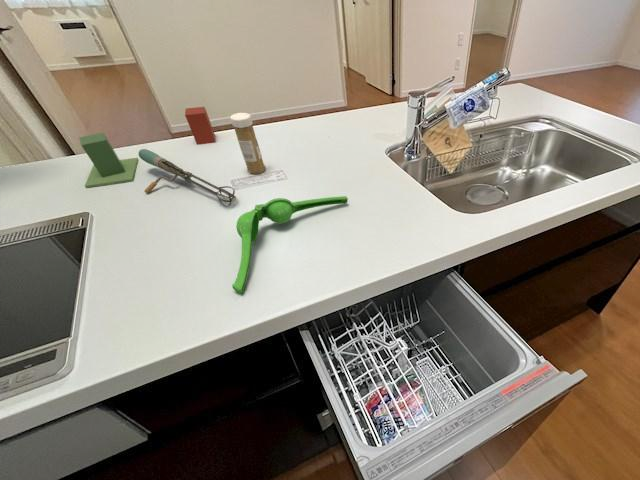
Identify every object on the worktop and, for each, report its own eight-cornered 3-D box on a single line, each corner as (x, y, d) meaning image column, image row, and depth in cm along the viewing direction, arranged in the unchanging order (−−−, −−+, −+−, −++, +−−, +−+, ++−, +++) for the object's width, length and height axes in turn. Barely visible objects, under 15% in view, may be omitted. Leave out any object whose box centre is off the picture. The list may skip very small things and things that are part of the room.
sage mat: (95, 165, 90) (94, 163, 90) (138, 159, 93) (137, 157, 92) (86, 188, 83) (84, 185, 82) (133, 181, 85) (131, 178, 85)
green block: (100, 169, 88) (78, 137, 82) (122, 164, 90) (103, 132, 84) (102, 177, 85) (80, 145, 79) (125, 172, 87) (106, 139, 81)
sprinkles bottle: (269, 168, 91) (254, 114, 81) (257, 176, 88) (240, 120, 78) (255, 164, 92) (239, 110, 82) (243, 172, 89) (225, 116, 79)
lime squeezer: (242, 295, 60) (230, 269, 56) (195, 272, 64) (180, 245, 59) (350, 204, 80) (348, 179, 76) (310, 190, 84) (305, 165, 79)
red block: (197, 137, 103) (185, 108, 97) (215, 135, 104) (204, 106, 98) (197, 144, 99) (184, 115, 94) (215, 142, 101) (204, 112, 95)
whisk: (219, 236, 78) (200, 219, 72) (128, 186, 87) (105, 167, 81) (248, 201, 81) (232, 182, 75) (158, 156, 90) (137, 136, 84)
